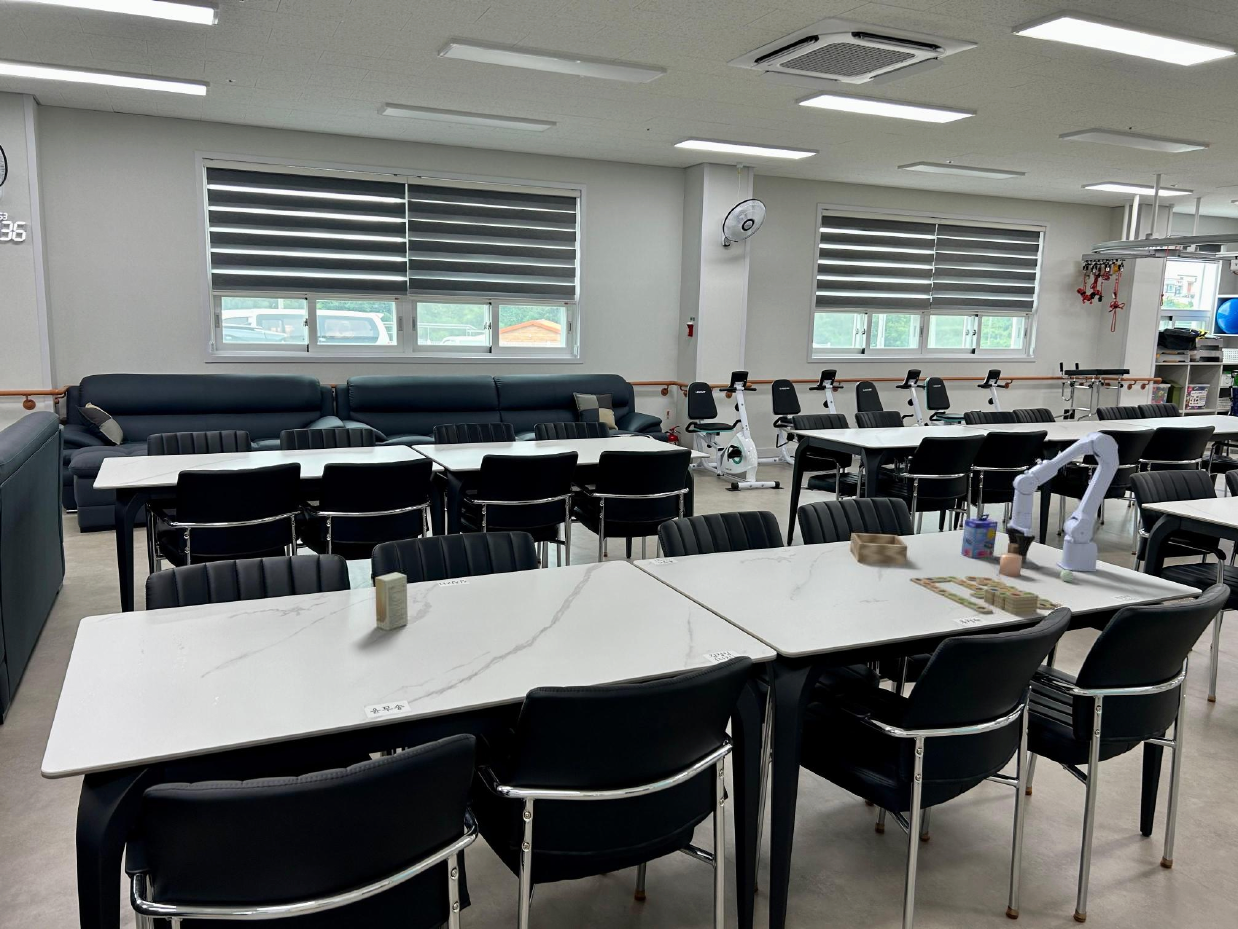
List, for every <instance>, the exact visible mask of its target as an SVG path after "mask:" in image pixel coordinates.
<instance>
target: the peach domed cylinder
mask: <svg viewBox="0 0 1238 929" xmlns="http://www.w3.org/2000/svg"><path fill="white" fill-rule="evenodd" d="M1000 557H1001V559H1000V563H999V570H998V573H999V574H1000V575H1002V576H1005V577H1011V578H1014V577H1015V578H1018V577H1020V576H1021V570H1022V568H1021V562H1022V556H1021V555H1018V554H1013V553H1007V552H1002V553H1000Z"/></svg>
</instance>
